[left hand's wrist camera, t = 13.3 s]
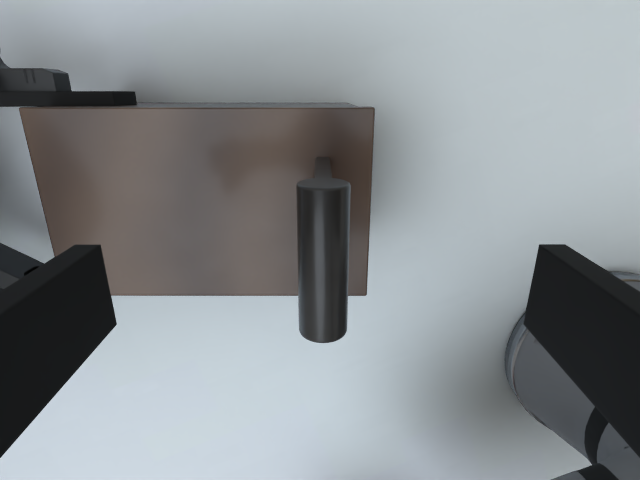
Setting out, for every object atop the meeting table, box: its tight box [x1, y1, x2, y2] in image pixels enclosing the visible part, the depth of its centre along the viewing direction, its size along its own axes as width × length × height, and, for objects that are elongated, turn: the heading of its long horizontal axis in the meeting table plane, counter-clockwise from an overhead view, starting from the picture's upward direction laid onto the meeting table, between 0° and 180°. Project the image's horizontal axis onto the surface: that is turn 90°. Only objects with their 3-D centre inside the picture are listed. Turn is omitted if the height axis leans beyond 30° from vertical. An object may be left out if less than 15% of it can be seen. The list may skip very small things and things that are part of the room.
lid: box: [19, 107, 375, 343], centre depth 18 cm, size 17×10×9 cm, turn 90°
